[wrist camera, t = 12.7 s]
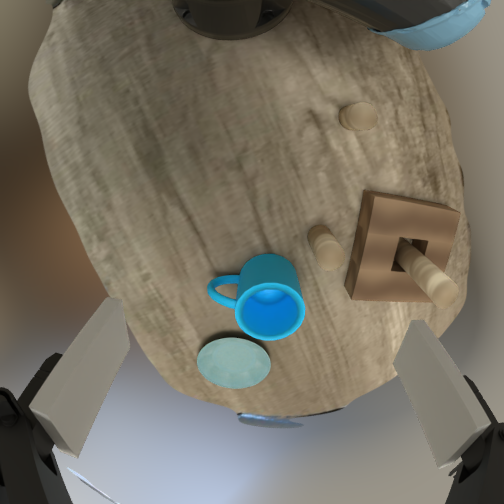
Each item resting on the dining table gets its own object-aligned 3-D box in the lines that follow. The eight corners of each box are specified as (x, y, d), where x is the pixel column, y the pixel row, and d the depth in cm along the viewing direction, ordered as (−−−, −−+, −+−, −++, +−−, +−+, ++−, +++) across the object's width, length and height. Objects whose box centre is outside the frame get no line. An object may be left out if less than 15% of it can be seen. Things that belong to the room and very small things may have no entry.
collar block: (363, 189, 36) (374, 196, 32) (445, 205, 36) (460, 212, 33) (344, 285, 41) (351, 299, 38) (422, 289, 42) (433, 302, 38)
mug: (302, 257, 40) (312, 287, 32) (291, 308, 43) (296, 343, 36) (214, 245, 40) (204, 272, 32) (209, 297, 43) (200, 331, 35)
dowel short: (339, 103, 32) (352, 99, 27) (363, 108, 32) (378, 105, 27) (337, 127, 33) (349, 127, 29) (361, 132, 33) (376, 132, 29)
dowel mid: (309, 223, 38) (320, 242, 32) (333, 226, 38) (347, 245, 32) (306, 246, 39) (315, 269, 33) (328, 248, 39) (341, 271, 33)
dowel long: (391, 235, 38) (441, 282, 25) (409, 238, 38) (462, 283, 25) (385, 256, 40) (431, 308, 27) (404, 258, 40) (452, 309, 27)
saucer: (283, 345, 46) (284, 354, 44) (250, 387, 50) (249, 396, 48) (215, 317, 44) (213, 326, 42) (189, 365, 48) (187, 374, 46)
